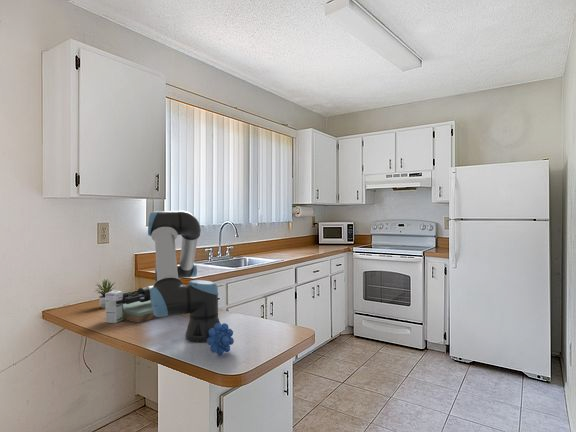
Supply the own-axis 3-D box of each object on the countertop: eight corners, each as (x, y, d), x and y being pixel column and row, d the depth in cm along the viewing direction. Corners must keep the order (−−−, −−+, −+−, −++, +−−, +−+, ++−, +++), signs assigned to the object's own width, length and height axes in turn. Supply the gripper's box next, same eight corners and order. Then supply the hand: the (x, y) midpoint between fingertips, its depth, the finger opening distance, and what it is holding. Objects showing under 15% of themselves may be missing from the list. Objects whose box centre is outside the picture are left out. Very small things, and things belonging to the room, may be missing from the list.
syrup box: (116, 323, 174) (115, 293, 174) (105, 322, 175) (104, 292, 175) (123, 319, 179) (123, 290, 179) (113, 319, 180) (112, 290, 180)
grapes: (215, 363, 124) (214, 328, 124) (203, 358, 129) (202, 324, 129) (241, 353, 133) (240, 320, 133) (229, 349, 137) (228, 317, 137)
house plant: (88, 306, 208) (88, 277, 208) (114, 302, 217) (114, 275, 217) (93, 311, 197) (92, 281, 197) (120, 307, 205) (120, 278, 205)
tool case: (148, 306, 206) (148, 301, 206) (176, 312, 192) (175, 306, 192) (111, 315, 188) (111, 309, 188) (138, 322, 174) (138, 316, 174)
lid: (148, 300, 206) (147, 285, 206) (176, 306, 192) (176, 290, 192) (110, 309, 188) (110, 292, 188) (138, 316, 174) (138, 298, 174)
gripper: (158, 303, 186) (116, 313, 167) (136, 298, 198) (93, 308, 179) (158, 288, 186) (115, 297, 167) (135, 285, 198) (93, 292, 179)
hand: (104, 302), depth 173 cm, fingers closed on syrup box, 7 cm apart
